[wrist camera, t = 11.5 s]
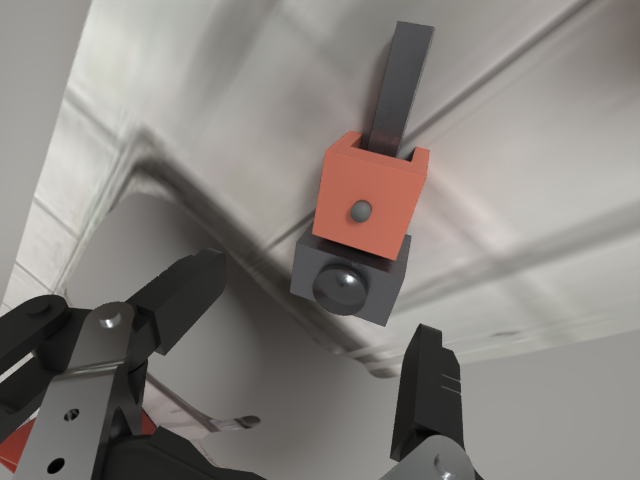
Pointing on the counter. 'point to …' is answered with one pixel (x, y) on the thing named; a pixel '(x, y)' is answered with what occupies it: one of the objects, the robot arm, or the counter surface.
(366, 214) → the notched red block
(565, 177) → the counter surface
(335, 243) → the coupler
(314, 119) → the counter surface
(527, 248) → the counter surface
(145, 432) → the plant pot
